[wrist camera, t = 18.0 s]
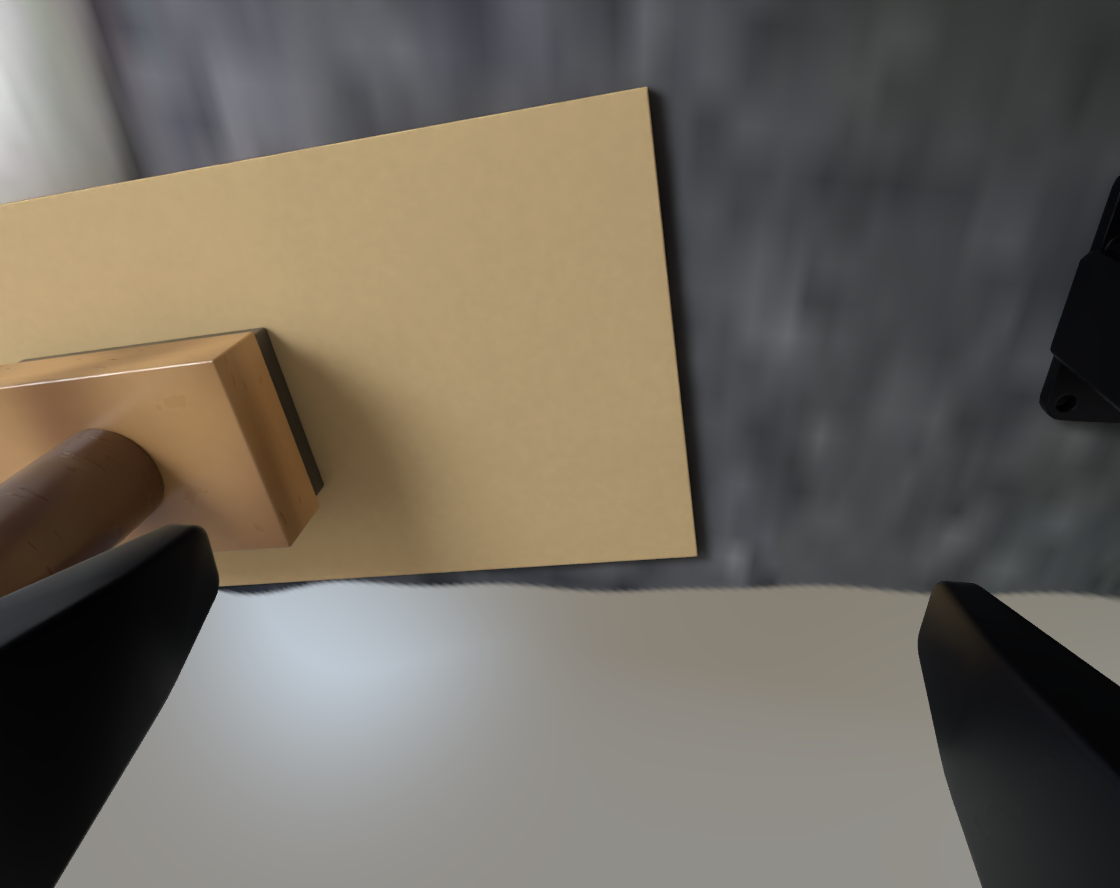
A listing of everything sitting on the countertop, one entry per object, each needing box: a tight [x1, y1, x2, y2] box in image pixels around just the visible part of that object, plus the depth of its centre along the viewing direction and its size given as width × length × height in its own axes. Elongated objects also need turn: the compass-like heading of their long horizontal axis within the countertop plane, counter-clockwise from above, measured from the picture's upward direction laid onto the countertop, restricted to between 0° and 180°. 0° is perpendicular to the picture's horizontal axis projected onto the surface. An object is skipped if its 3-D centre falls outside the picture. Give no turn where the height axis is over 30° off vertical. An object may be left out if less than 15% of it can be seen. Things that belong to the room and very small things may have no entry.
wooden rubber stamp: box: [0, 327, 324, 598], centre depth 19 cm, size 9×6×12 cm, turn 100°
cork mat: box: [0, 87, 698, 586], centre depth 23 cm, size 22×14×1 cm, turn 100°
